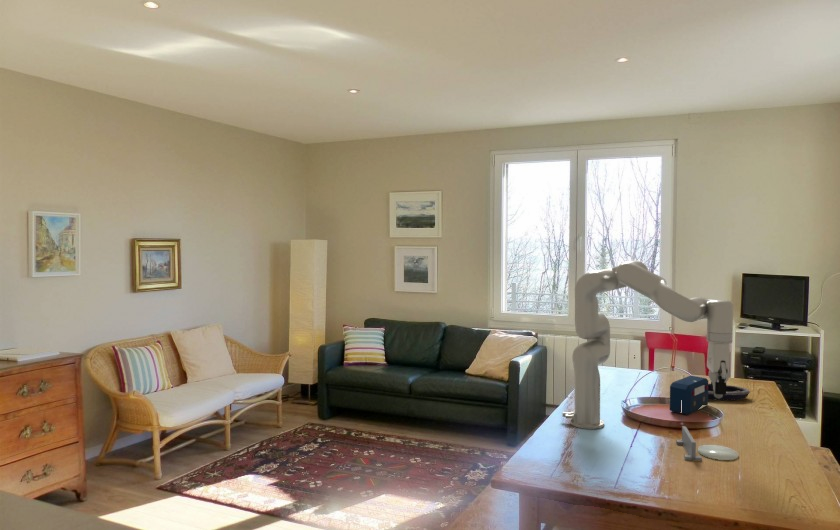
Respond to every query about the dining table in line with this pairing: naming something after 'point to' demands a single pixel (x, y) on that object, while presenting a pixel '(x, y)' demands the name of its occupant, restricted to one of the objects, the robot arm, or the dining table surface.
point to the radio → (688, 394)
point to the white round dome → (717, 452)
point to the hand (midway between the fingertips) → (718, 391)
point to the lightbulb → (713, 380)
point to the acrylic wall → (688, 445)
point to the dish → (729, 393)
